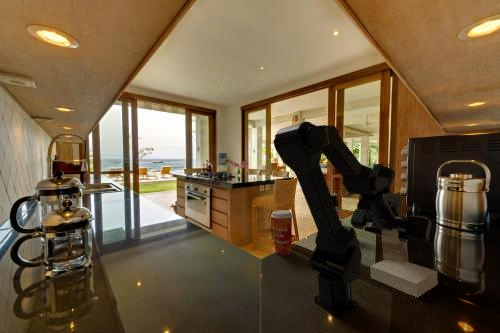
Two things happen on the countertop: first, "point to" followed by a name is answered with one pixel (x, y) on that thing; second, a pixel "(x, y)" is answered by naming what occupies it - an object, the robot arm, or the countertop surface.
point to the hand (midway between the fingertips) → (396, 239)
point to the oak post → (393, 245)
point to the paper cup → (282, 231)
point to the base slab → (404, 276)
